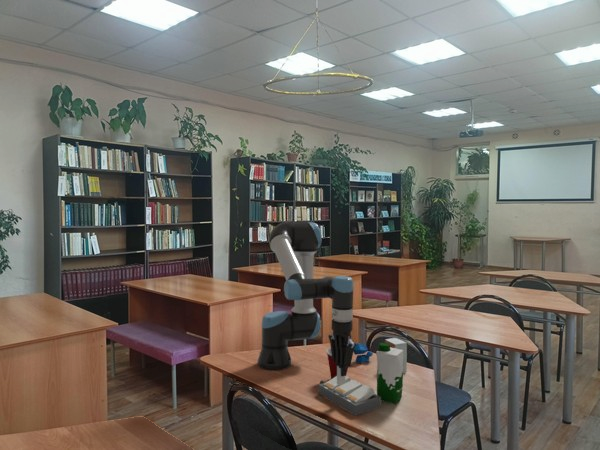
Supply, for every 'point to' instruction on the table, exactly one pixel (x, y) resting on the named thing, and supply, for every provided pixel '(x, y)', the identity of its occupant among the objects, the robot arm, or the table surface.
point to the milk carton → (389, 373)
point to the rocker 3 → (360, 394)
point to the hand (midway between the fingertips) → (341, 383)
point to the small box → (399, 345)
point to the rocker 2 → (348, 388)
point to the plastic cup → (332, 364)
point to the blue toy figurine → (361, 350)
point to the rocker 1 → (335, 383)
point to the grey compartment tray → (348, 405)
